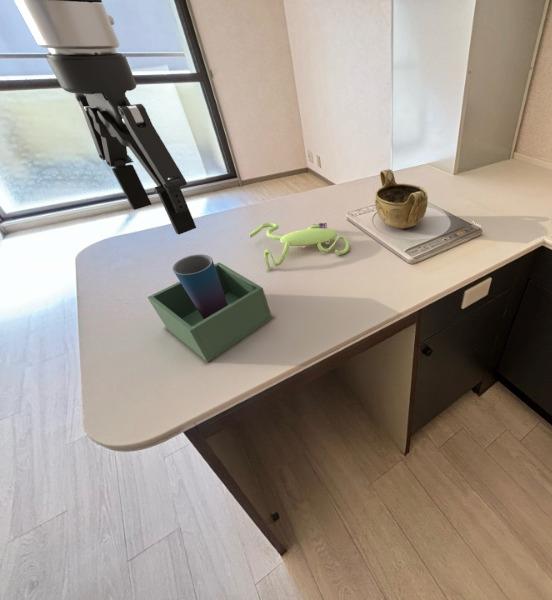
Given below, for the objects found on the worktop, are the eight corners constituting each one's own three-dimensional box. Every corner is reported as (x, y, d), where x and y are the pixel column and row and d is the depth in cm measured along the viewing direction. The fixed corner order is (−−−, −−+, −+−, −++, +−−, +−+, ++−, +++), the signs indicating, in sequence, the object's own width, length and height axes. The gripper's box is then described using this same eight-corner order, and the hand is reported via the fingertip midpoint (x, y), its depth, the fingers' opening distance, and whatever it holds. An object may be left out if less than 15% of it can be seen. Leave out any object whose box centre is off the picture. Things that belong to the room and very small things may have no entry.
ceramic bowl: (363, 215, 114) (361, 172, 104) (405, 206, 120) (407, 164, 111) (394, 245, 99) (395, 198, 90) (440, 233, 106) (445, 188, 96)
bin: (207, 362, 64) (189, 331, 58) (166, 328, 71) (147, 297, 65) (272, 318, 74) (262, 287, 68) (231, 292, 80) (219, 262, 75)
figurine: (251, 240, 99) (246, 223, 96) (337, 225, 108) (335, 209, 104) (257, 273, 87) (251, 256, 83) (353, 254, 95) (352, 237, 91)
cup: (242, 317, 72) (220, 261, 63) (215, 335, 68) (186, 279, 58) (223, 305, 75) (198, 250, 65) (195, 323, 71) (164, 266, 61)
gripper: (173, 57, 35) (231, 232, 49) (79, 44, 46) (149, 191, 59) (92, 60, 31) (182, 253, 44) (7, 45, 41) (101, 205, 55)
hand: (163, 218), depth 52 cm, fingers open, 13 cm apart
